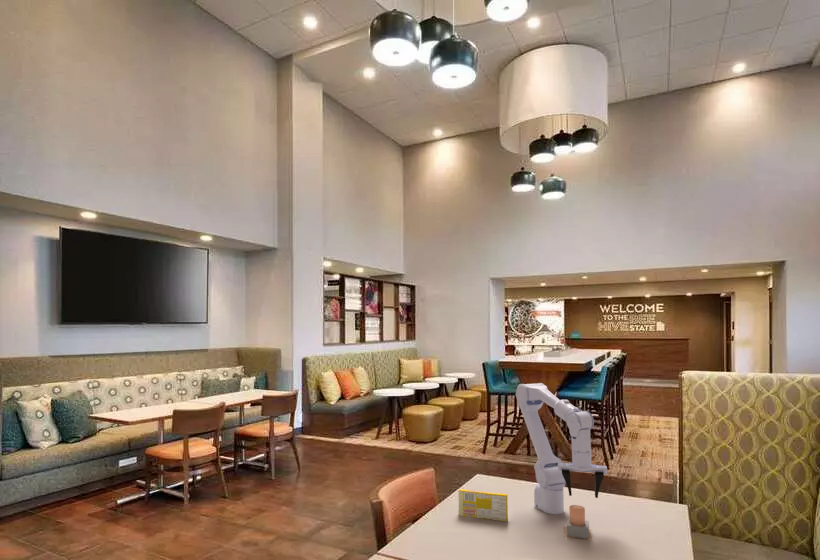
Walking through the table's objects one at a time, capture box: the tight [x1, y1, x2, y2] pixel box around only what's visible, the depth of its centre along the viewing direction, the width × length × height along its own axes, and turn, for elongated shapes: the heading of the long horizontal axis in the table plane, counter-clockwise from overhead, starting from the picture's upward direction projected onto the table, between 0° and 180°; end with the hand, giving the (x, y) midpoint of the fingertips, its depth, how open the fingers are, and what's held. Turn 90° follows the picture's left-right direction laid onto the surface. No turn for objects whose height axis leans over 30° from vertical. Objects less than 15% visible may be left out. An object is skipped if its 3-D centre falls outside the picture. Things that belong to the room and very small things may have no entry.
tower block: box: [566, 517, 590, 540], centre depth 149 cm, size 6×6×3 cm
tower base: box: [563, 526, 594, 541], centre depth 149 cm, size 8×8×2 cm
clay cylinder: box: [568, 504, 586, 526], centre depth 149 cm, size 4×4×4 cm
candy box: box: [458, 488, 509, 522], centre depth 165 cm, size 16×2×8 cm, turn 71°
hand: (583, 495), depth 155 cm, fingers open, 7 cm apart
